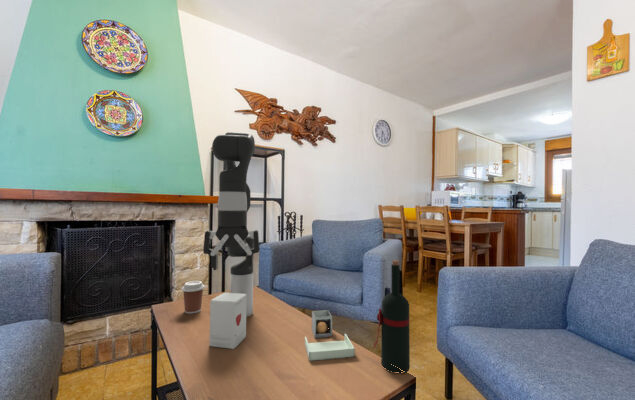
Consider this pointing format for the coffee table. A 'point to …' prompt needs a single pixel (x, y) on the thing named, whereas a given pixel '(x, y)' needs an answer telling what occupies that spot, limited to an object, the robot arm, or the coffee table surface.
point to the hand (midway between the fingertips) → (231, 269)
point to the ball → (321, 327)
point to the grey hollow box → (321, 317)
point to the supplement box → (227, 320)
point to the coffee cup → (193, 296)
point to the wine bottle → (394, 327)
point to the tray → (330, 349)
